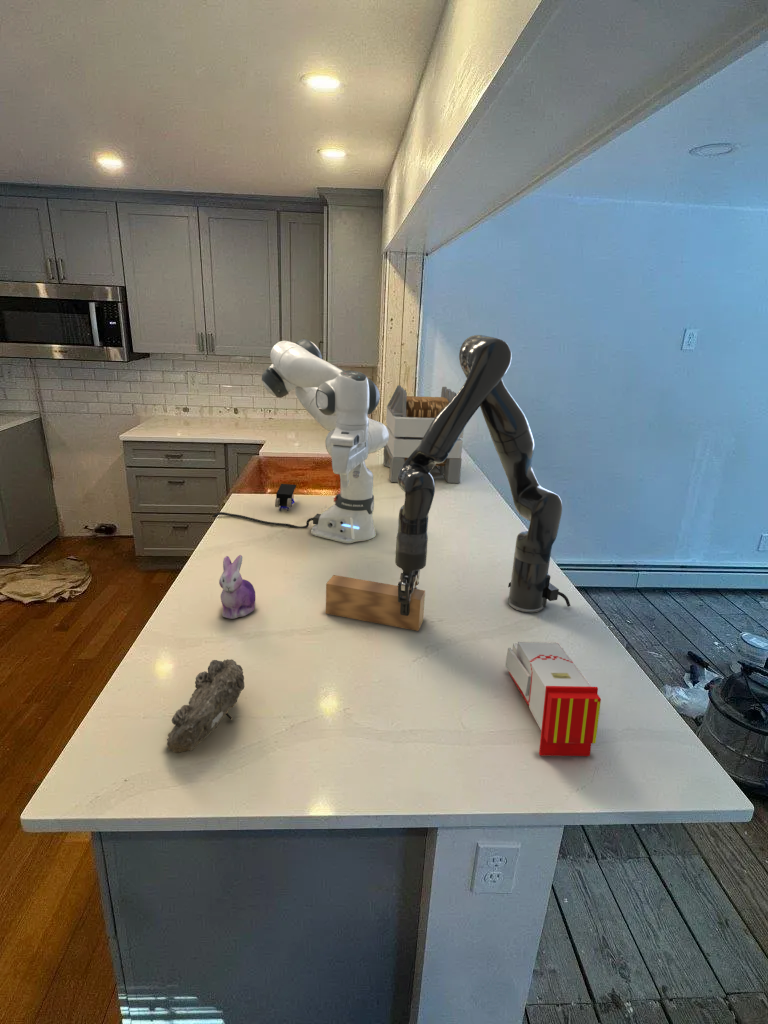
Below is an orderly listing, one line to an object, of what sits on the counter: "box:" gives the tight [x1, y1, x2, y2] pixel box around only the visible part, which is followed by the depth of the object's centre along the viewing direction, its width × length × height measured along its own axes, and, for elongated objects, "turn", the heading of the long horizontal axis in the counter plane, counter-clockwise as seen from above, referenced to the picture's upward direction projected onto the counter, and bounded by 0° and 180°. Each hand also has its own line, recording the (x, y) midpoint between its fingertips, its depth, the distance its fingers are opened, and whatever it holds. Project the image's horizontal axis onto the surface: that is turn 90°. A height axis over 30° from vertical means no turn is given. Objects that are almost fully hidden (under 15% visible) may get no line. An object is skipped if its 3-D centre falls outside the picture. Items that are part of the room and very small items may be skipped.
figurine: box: [218, 554, 256, 619], centre depth 143 cm, size 9×10×15 cm
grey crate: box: [383, 384, 465, 484], centre depth 268 cm, size 34×33×41 cm
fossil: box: [166, 658, 245, 754], centre depth 106 cm, size 22×10×15 cm
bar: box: [325, 574, 426, 632], centre depth 144 cm, size 24×5×9 cm, turn 74°
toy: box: [505, 641, 602, 757], centre depth 113 cm, size 12×13×30 cm
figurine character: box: [274, 483, 297, 512], centre depth 220 cm, size 7×8×15 cm
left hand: (351, 482), depth 158 cm, fingers open, 8 cm apart
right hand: (407, 608), depth 142 cm, fingers closed on bar, 5 cm apart
